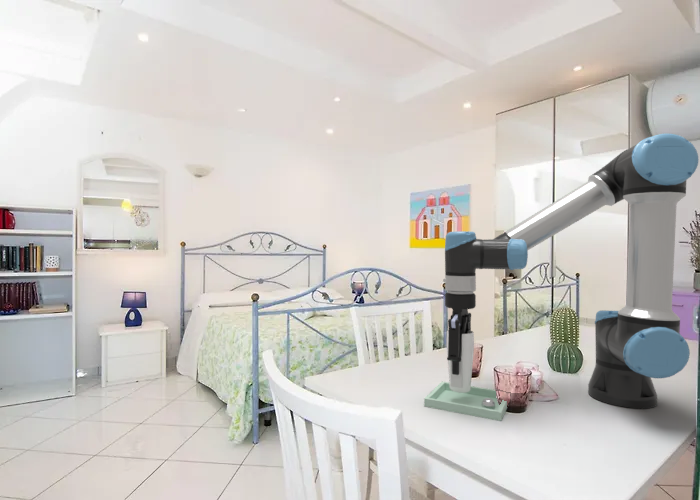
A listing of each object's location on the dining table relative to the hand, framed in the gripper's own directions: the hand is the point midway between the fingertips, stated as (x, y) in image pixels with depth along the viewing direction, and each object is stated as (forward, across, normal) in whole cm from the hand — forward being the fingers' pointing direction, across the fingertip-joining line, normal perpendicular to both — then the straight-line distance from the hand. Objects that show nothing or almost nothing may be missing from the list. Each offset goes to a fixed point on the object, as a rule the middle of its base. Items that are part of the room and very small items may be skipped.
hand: (460, 382), depth 104 cm
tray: (+5, 0, +2) cm, 6 cm away
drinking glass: (+2, 0, 0) cm, 2 cm away
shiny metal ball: (+5, +4, +8) cm, 10 cm away
